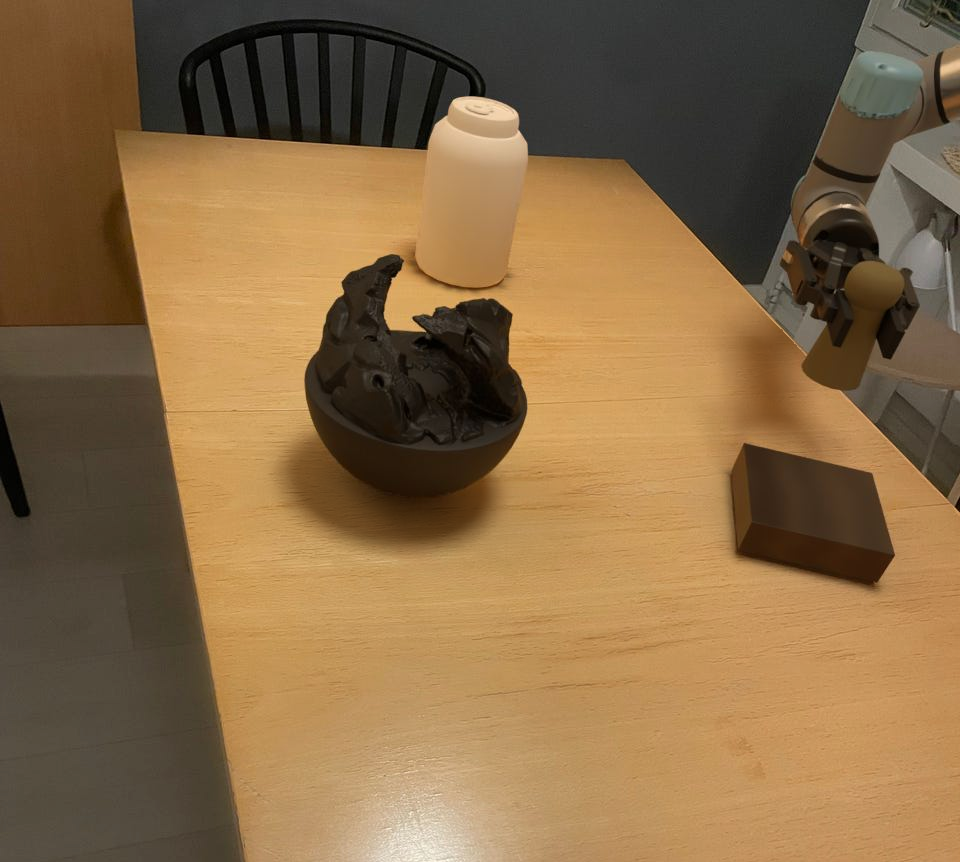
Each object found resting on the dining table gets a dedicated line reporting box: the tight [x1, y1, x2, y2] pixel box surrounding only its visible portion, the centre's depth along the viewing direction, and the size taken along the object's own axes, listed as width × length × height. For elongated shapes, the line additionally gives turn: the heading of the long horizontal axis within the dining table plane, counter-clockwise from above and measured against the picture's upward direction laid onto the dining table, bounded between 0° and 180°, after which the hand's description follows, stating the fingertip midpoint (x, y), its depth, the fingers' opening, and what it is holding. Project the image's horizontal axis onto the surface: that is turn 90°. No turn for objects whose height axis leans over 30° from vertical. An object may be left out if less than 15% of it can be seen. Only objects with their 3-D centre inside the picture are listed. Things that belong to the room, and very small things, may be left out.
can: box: [414, 95, 529, 289], centre depth 116 cm, size 12×12×20 cm
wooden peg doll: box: [800, 261, 904, 392], centre depth 87 cm, size 6×6×11 cm
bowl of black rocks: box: [303, 253, 528, 499], centre depth 81 cm, size 20×20×19 cm
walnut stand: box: [731, 442, 896, 586], centre depth 92 cm, size 14×14×4 cm
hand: (868, 339), depth 83 cm, fingers closed on wooden peg doll, 4 cm apart
